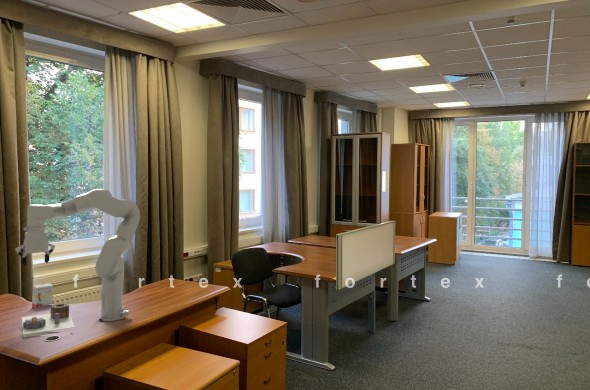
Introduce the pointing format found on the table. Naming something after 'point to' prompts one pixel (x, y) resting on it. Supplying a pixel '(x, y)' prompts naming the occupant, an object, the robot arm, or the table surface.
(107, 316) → the robot arm
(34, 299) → the ink box
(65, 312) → the walnut gear
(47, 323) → the gear board
